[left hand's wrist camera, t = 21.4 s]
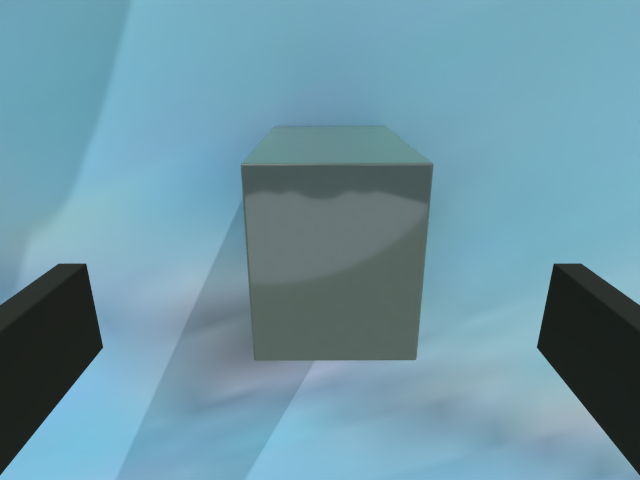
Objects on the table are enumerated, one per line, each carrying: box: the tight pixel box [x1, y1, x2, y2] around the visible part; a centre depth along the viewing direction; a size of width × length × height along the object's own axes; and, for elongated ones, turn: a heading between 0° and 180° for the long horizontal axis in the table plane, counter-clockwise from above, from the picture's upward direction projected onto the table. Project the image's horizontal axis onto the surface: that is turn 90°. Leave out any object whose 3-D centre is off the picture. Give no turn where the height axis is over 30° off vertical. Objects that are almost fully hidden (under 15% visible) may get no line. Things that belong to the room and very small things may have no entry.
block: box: [241, 126, 433, 361], centre depth 21 cm, size 6×8×11 cm
